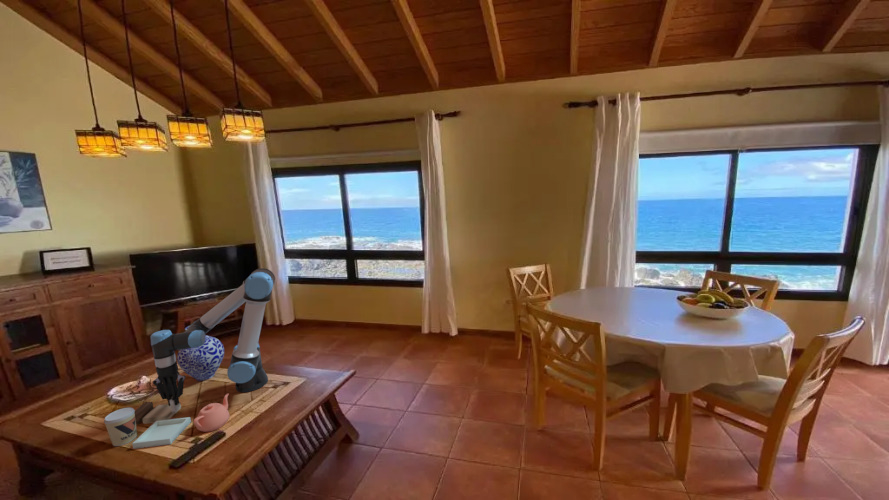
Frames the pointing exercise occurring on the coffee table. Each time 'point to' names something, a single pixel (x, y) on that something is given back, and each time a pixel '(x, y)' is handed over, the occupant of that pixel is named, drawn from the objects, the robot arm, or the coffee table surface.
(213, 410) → the teapot
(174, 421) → the tray
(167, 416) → the grey wooden square slab
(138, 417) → the block
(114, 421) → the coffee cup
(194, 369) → the vase
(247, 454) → the coffee table surface
